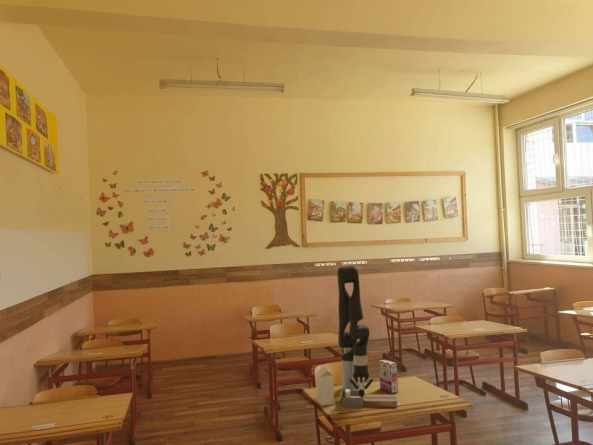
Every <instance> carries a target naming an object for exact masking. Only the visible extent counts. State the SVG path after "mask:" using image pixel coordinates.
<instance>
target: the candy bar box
mask: <svg viewBox="0 0 593 445" xmlns="http://www.w3.org/2000/svg"><path fill="white" fill-rule="evenodd" d="M378 364H379V366H378V367H379V389H380V390H382V391H385V392H387V393H389V394H390V395H393V394H397V393H399V385H398V378H399V377H398V363H397V362H394V361H391V360H387V359H381V360H380V359H379V363H378Z"/></svg>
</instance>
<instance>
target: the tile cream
mask: <svg viewBox="0 0 593 445" xmlns="http://www.w3.org/2000/svg"><path fill="white" fill-rule="evenodd" d="M346 398H350V389H346Z"/></svg>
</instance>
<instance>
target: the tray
mask: <svg viewBox="0 0 593 445" xmlns="http://www.w3.org/2000/svg"><path fill="white" fill-rule="evenodd" d="M350 396H359V389H358V390H350ZM339 400H340V408H362V409H363V408H364V402H363V397H362V398H346V390H343V389H342V390H340V399H339Z"/></svg>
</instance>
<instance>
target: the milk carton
mask: <svg viewBox="0 0 593 445" xmlns="http://www.w3.org/2000/svg"><path fill="white" fill-rule="evenodd" d="M334 384H335V383H334V375H333V374H332V373H331V369H329V368H327V367H326V366H324V365H322V366H321V368H320V370H318V371H317V372H316V398H317V400H316V402H317V403H318V404H319V405H320V406H321V407H322V406H330V405H331V406H332V405H335V391H334Z"/></svg>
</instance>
